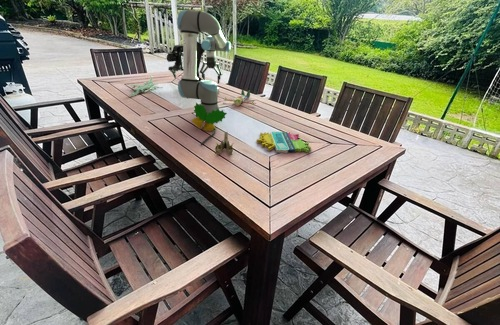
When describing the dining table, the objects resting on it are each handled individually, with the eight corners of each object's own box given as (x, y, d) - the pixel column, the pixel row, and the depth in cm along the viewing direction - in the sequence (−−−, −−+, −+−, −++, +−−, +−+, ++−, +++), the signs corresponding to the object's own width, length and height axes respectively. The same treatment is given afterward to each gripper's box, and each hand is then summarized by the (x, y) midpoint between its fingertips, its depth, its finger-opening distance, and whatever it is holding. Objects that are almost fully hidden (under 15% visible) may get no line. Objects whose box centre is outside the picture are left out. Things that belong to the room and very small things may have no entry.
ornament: (218, 133, 171) (224, 110, 169) (221, 134, 163) (227, 111, 161) (186, 125, 162) (192, 101, 160) (189, 126, 155) (195, 101, 153)
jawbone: (234, 135, 144) (233, 125, 135) (233, 160, 138) (232, 151, 129) (217, 135, 144) (216, 125, 135) (216, 160, 138) (214, 150, 129)
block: (214, 92, 242) (214, 87, 239) (219, 92, 241) (219, 87, 239) (213, 93, 238) (213, 88, 235) (217, 94, 237) (217, 88, 235)
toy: (261, 91, 228) (254, 99, 202) (261, 99, 231) (253, 108, 205) (231, 87, 233) (220, 95, 207) (230, 95, 236) (219, 104, 210)
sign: (313, 150, 142) (258, 149, 139) (312, 153, 143) (258, 152, 140) (301, 132, 164) (254, 130, 161) (301, 134, 165) (254, 133, 162)
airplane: (123, 87, 237) (120, 75, 231) (158, 84, 250) (157, 74, 245) (127, 99, 208) (125, 87, 203) (167, 96, 221) (166, 84, 216)
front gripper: (195, 55, 217) (196, 81, 227) (223, 58, 213) (223, 85, 223) (198, 54, 224) (199, 80, 234) (226, 57, 219) (226, 83, 229)
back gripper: (164, 61, 225) (166, 79, 233) (184, 63, 222) (185, 82, 229) (170, 59, 235) (172, 77, 242) (190, 61, 231) (190, 79, 239)
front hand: (211, 82), depth 228 cm, fingers open, 13 cm apart
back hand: (179, 79), depth 238 cm, fingers open, 9 cm apart
